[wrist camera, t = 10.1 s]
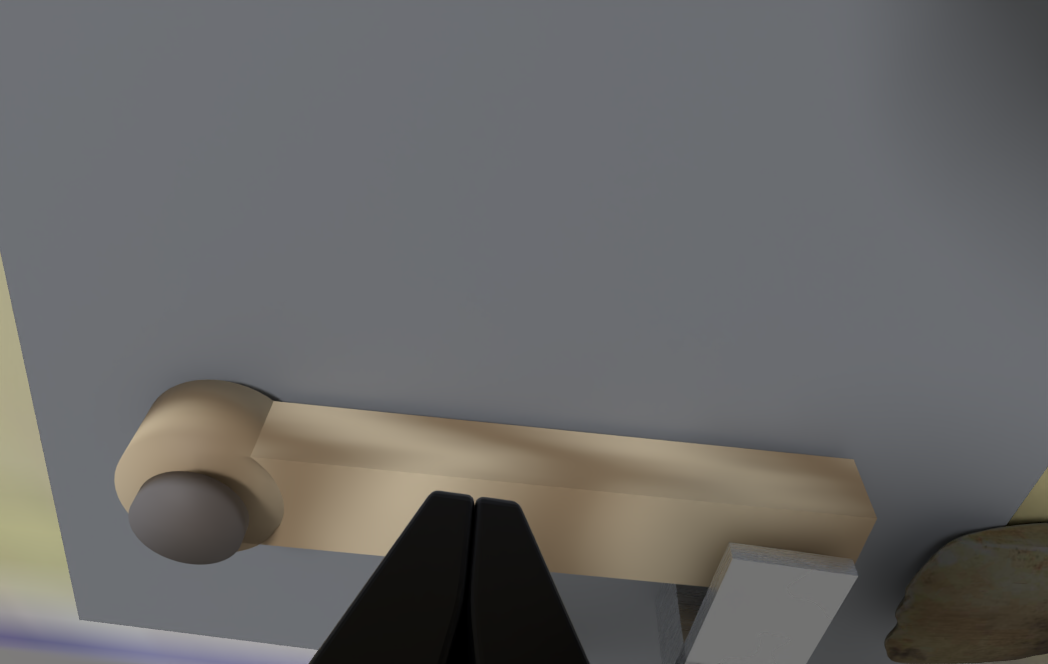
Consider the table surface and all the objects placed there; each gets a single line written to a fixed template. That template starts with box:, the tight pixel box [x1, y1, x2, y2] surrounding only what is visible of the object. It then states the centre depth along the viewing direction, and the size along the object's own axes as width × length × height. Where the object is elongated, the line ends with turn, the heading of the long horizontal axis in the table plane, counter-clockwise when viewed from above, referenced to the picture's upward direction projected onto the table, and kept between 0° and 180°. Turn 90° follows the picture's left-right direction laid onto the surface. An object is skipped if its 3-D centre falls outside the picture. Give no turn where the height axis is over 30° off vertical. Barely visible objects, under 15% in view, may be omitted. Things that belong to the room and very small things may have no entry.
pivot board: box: [0, 0, 1048, 664], centre depth 22 cm, size 25×26×1 cm
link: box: [114, 379, 877, 587], centre depth 21 cm, size 18×4×3 cm, turn 84°
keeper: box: [655, 542, 858, 664], centre depth 23 cm, size 6×3×3 cm, turn 171°
